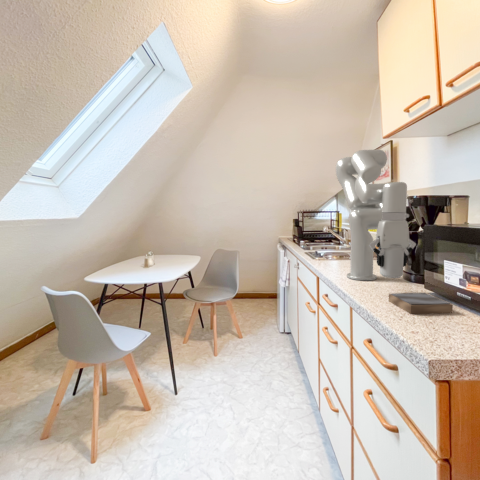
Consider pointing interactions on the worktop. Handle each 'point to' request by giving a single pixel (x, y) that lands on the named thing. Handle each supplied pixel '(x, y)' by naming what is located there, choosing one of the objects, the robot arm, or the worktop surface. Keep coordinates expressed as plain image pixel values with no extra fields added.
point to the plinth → (420, 303)
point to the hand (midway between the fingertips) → (391, 265)
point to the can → (393, 262)
